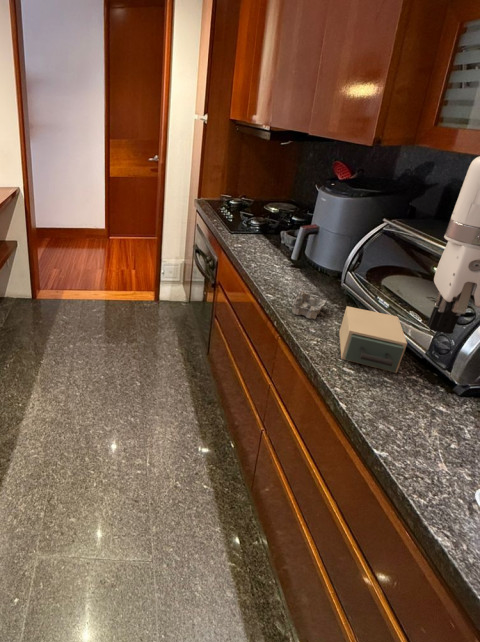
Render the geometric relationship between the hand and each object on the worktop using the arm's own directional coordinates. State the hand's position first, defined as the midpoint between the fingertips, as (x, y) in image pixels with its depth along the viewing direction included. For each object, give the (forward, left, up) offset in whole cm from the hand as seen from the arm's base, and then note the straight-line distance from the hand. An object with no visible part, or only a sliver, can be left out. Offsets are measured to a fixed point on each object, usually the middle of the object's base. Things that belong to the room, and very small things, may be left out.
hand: (439, 329), depth 70 cm
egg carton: (+11, -43, -22) cm, 50 cm away
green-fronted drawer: (+1, -21, -21) cm, 30 cm away
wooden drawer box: (0, -25, -22) cm, 33 cm away
